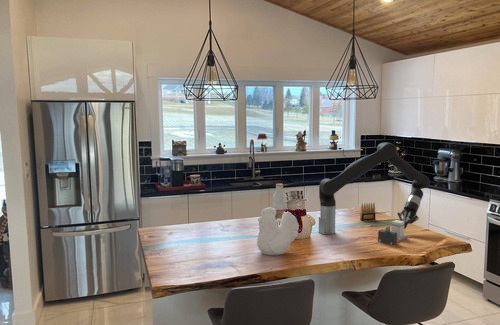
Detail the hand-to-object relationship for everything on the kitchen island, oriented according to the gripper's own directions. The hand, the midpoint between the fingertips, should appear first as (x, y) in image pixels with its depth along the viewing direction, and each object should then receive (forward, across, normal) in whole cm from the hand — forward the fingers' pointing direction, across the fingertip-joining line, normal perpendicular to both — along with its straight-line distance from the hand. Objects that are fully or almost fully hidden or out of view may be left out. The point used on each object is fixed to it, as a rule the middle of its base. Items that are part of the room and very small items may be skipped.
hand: (402, 228), depth 233 cm
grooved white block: (+7, 0, -2) cm, 8 cm away
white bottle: (+27, -68, -19) cm, 75 cm away
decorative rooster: (+54, -34, -46) cm, 78 cm away
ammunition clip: (-11, -34, +19) cm, 41 cm away
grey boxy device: (+13, 0, -5) cm, 13 cm away
